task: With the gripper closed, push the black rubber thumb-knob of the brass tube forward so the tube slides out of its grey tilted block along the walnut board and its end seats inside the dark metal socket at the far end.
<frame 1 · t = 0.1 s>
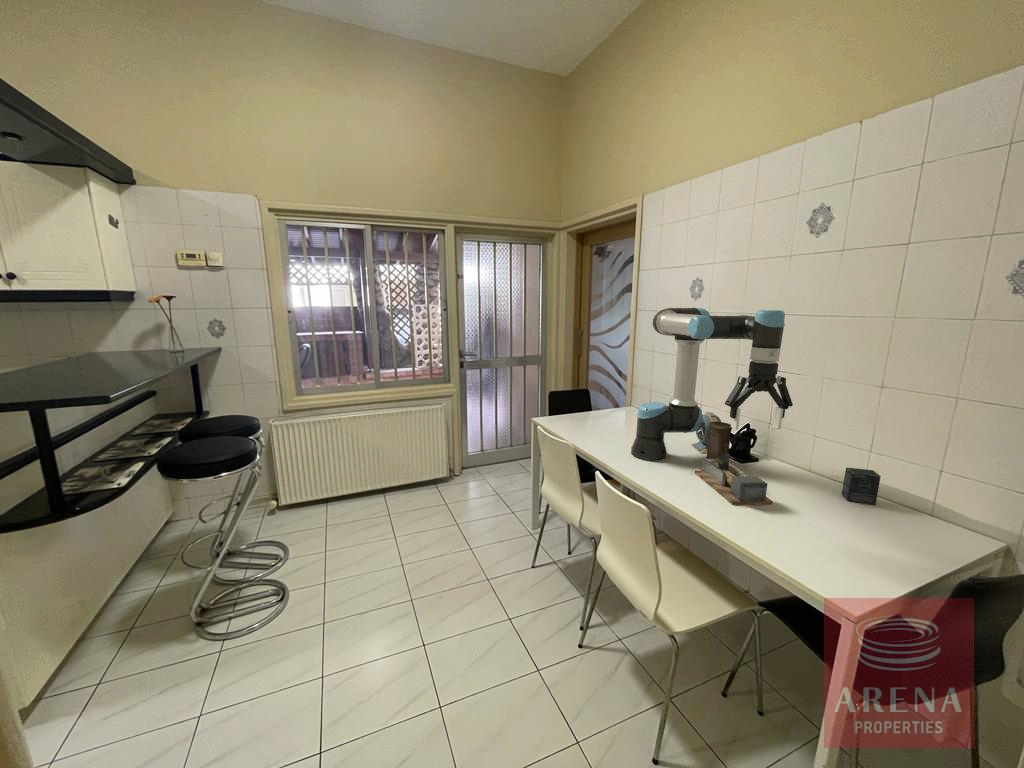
hand: (755, 428, 127), 28 cm above the table, fingers open, 13 cm apart
box: (857, 500, 139), on the table
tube: (725, 466, 151), point 6 cm above the table, slide at 0.0 cm
socket: (748, 488, 137), on the board, point 4 cm above the table
container: (716, 466, 168), on the table
board: (730, 487, 148), on the table
grey tilted block: (722, 471, 153), on the board, point 4 cm above the table
alarm clock: (706, 449, 187), on the table
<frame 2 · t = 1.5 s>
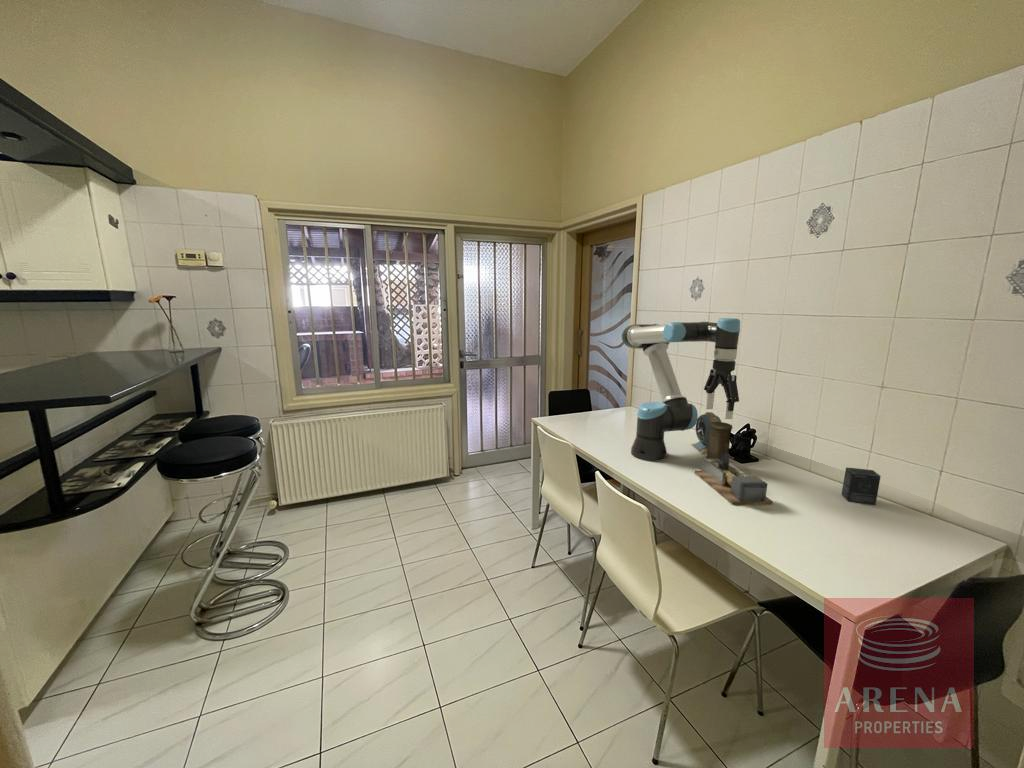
hand: (718, 413, 156), 25 cm above the table, fingers open, 13 cm apart
nothing on the table moved.
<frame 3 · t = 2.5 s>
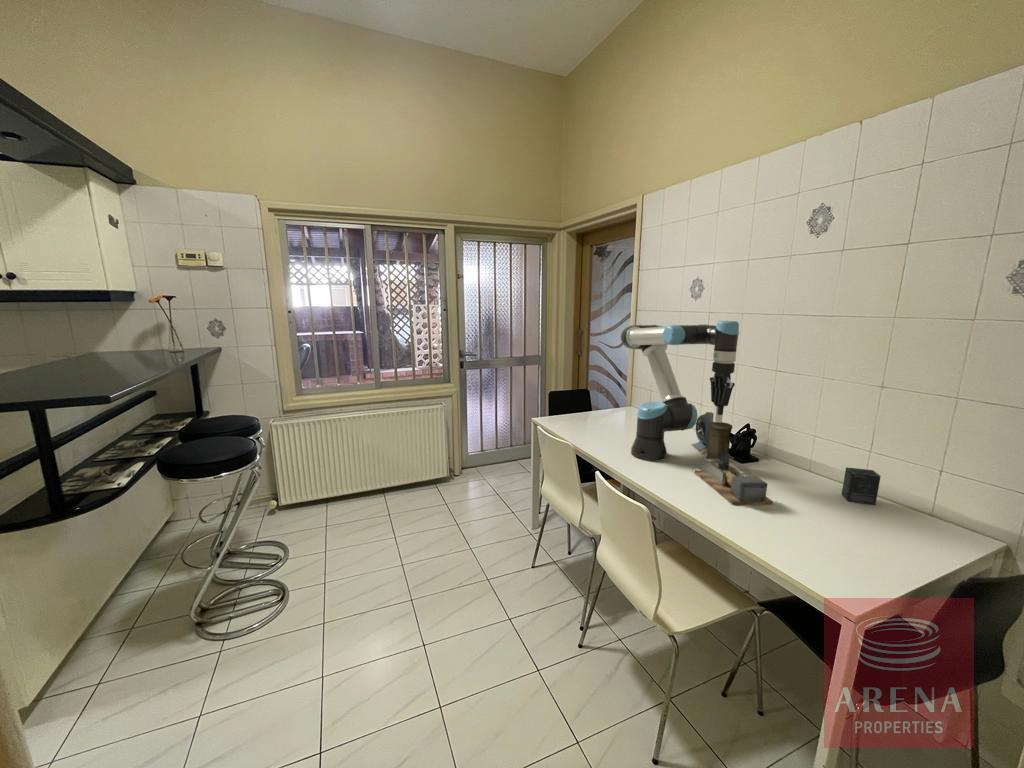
hand: (717, 421, 157), 21 cm above the table, fingers closed
nothing on the table moved.
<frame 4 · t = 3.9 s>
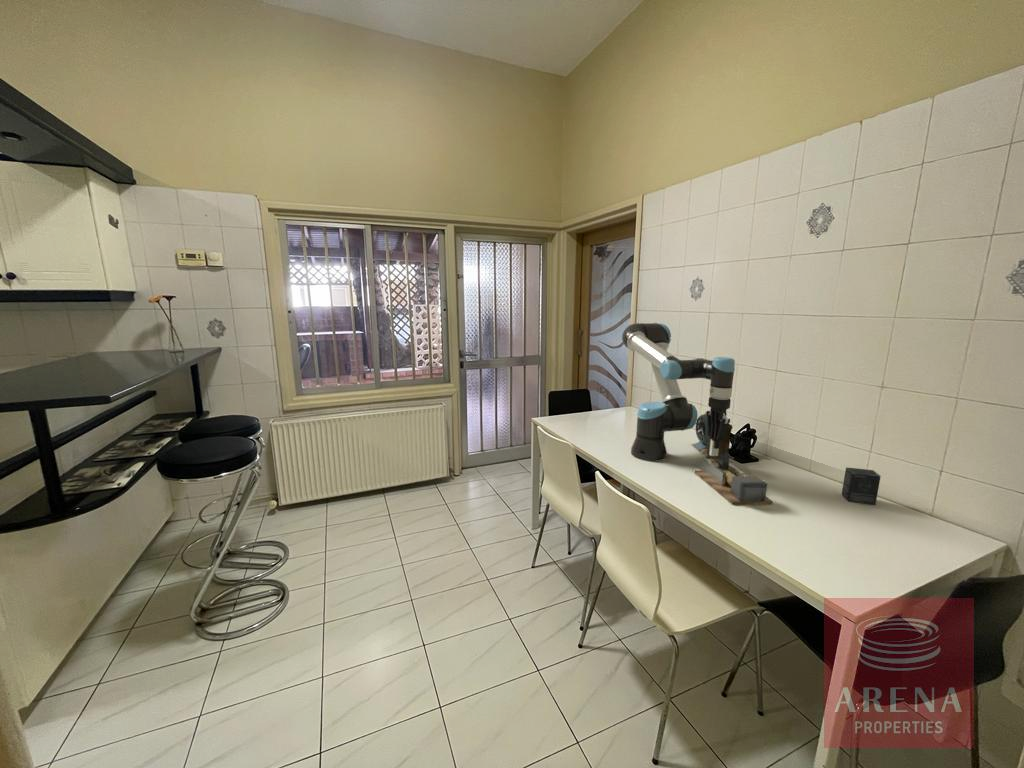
hand: (713, 455, 159), 7 cm above the table, fingers closed
nothing on the table moved.
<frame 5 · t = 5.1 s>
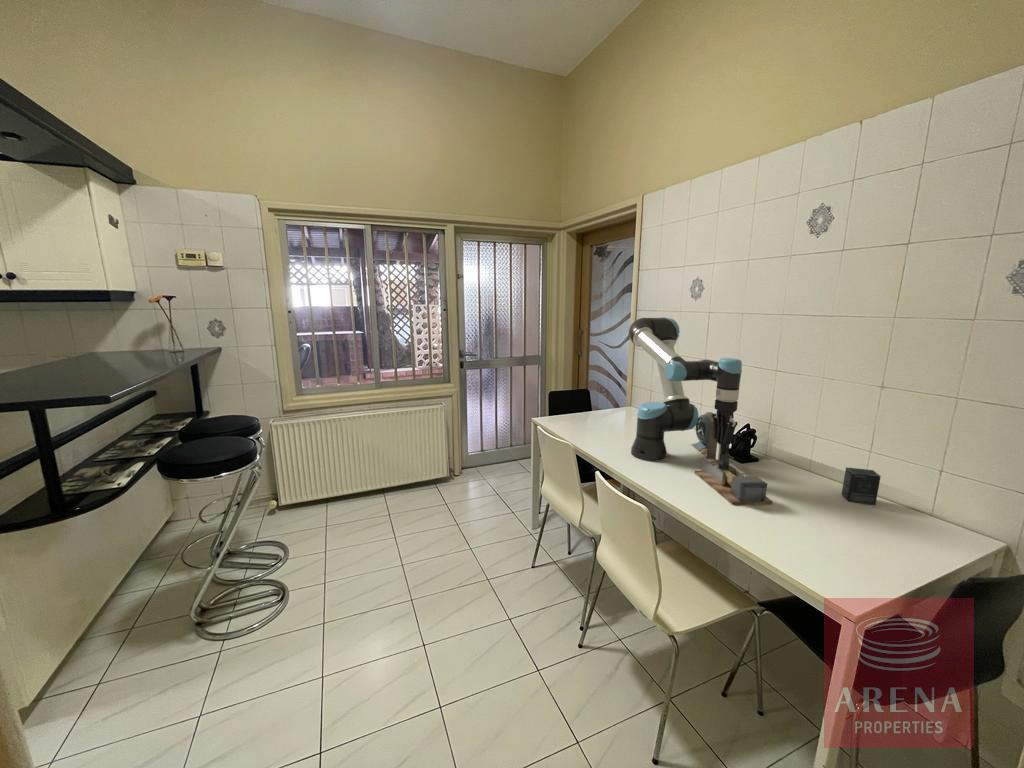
hand: (720, 459, 155), 8 cm above the table, fingers closed
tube: (725, 467, 151), point 6 cm above the table, slide at 0.0 cm, touching gripper
everything else where it was.
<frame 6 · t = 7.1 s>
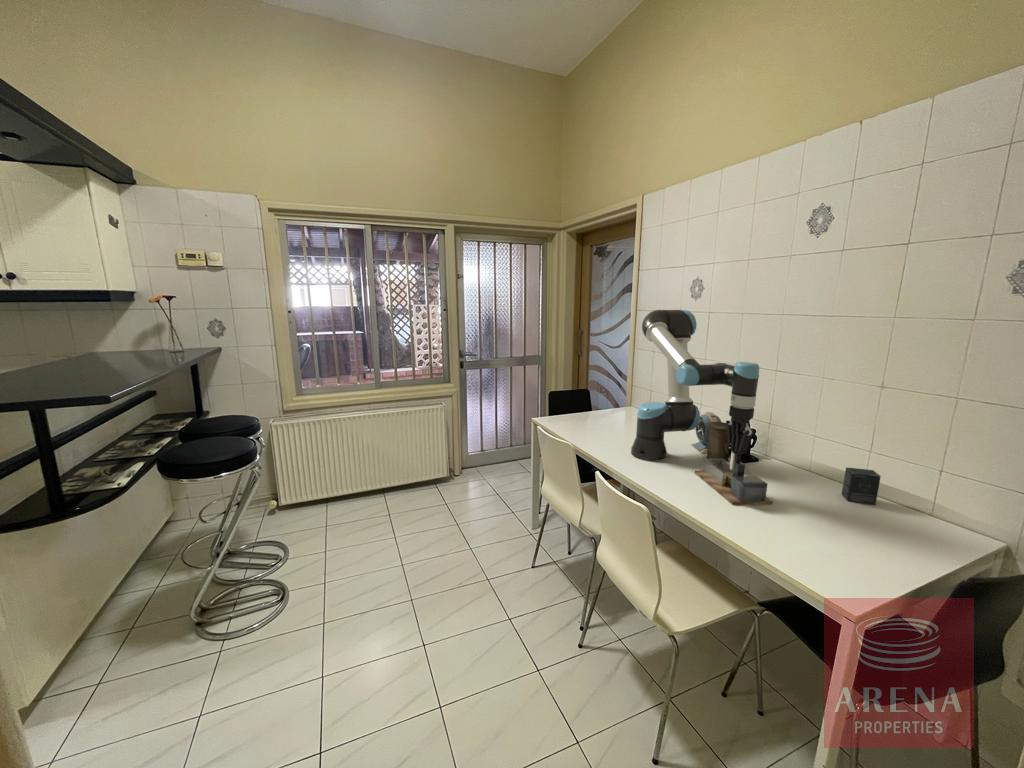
hand: (734, 469, 146), 8 cm above the table, fingers closed
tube: (739, 477, 142), point 6 cm above the table, slide at 9.3 cm, touching gripper, socket
everything else where it was.
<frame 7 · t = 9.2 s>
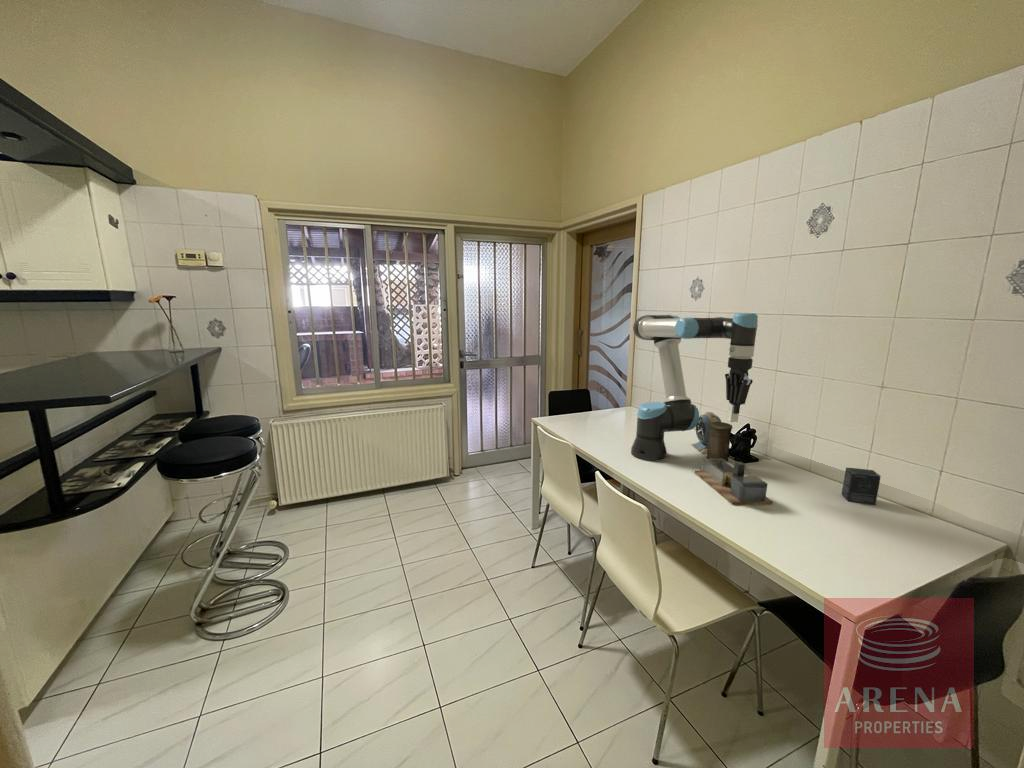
hand: (732, 421, 146), 24 cm above the table, fingers closed
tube: (739, 477, 142), point 6 cm above the table, slide at 9.3 cm, touching socket
everything else where it was.
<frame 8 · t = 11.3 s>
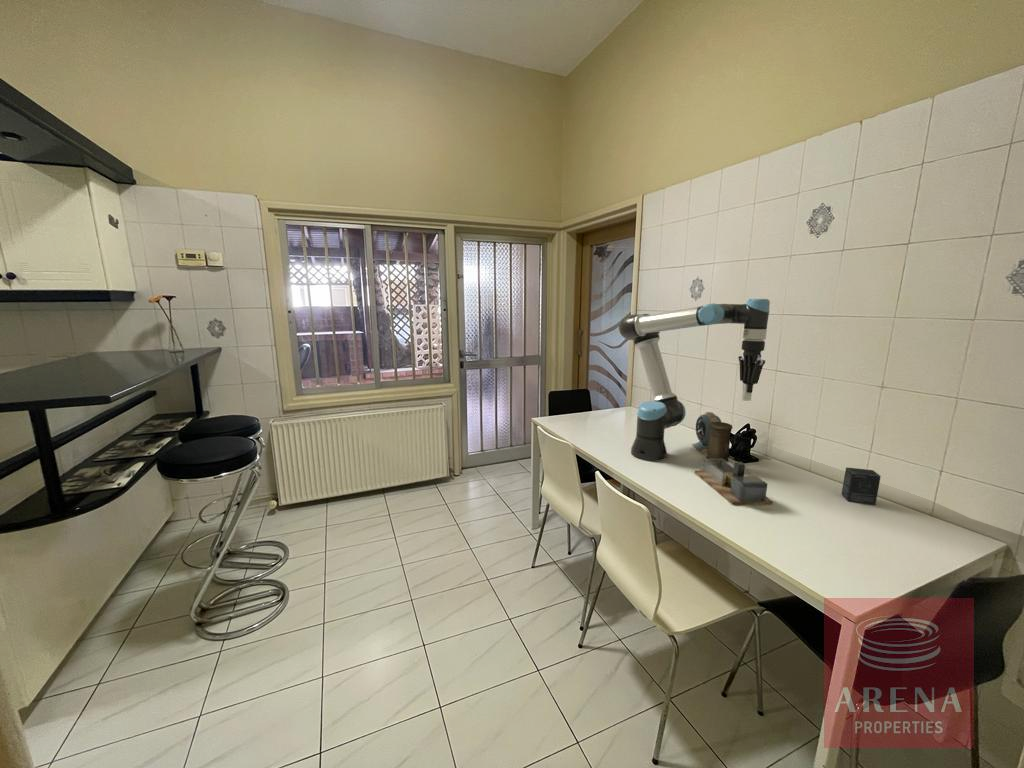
hand: (746, 400, 158), 29 cm above the table, fingers closed
nothing on the table moved.
at the end: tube slide at 9.3 cm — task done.
